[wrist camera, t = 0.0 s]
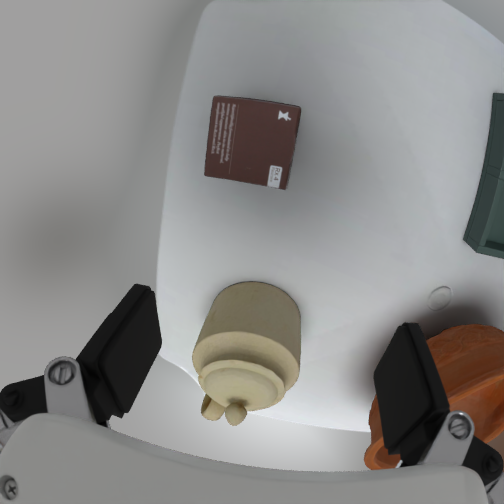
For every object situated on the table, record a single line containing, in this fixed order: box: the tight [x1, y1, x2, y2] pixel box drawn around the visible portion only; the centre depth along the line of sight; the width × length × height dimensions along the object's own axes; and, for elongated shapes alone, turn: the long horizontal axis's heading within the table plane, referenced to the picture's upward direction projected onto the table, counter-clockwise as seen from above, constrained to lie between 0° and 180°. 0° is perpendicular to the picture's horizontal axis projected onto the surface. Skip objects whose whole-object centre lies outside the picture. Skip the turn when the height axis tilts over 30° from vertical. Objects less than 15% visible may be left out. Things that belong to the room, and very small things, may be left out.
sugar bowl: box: [192, 282, 301, 426], centre depth 29 cm, size 15×11×15 cm
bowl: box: [364, 324, 504, 470], centre depth 27 cm, size 25×25×15 cm
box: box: [204, 96, 301, 190], centre depth 21 cm, size 6×6×7 cm
